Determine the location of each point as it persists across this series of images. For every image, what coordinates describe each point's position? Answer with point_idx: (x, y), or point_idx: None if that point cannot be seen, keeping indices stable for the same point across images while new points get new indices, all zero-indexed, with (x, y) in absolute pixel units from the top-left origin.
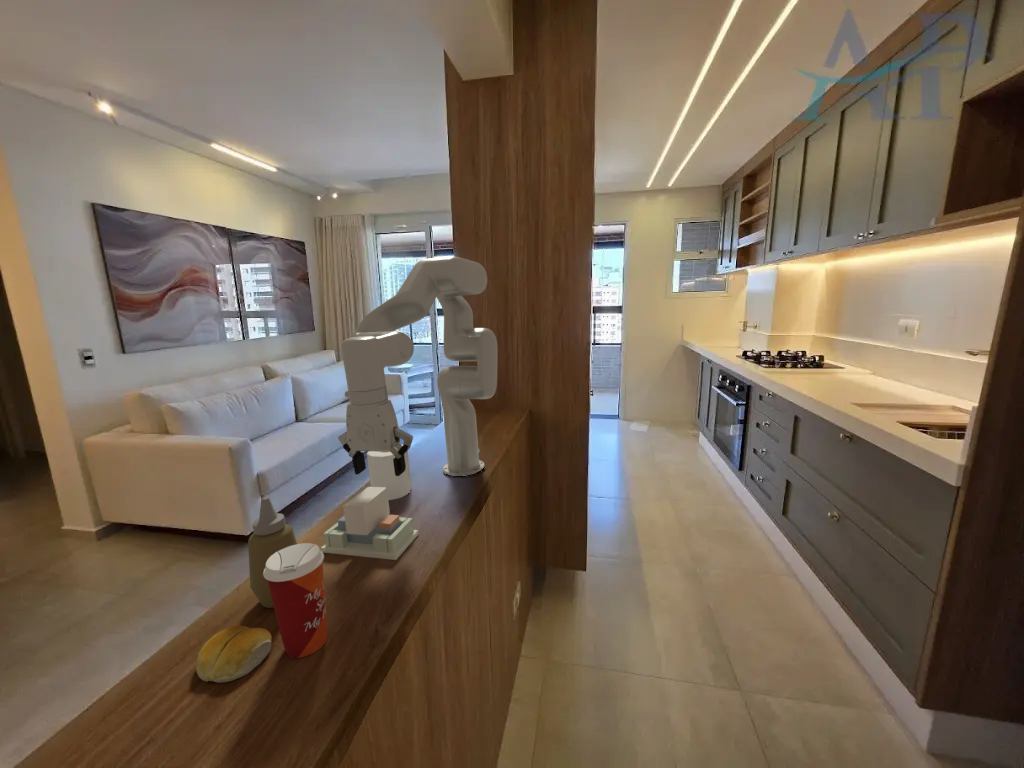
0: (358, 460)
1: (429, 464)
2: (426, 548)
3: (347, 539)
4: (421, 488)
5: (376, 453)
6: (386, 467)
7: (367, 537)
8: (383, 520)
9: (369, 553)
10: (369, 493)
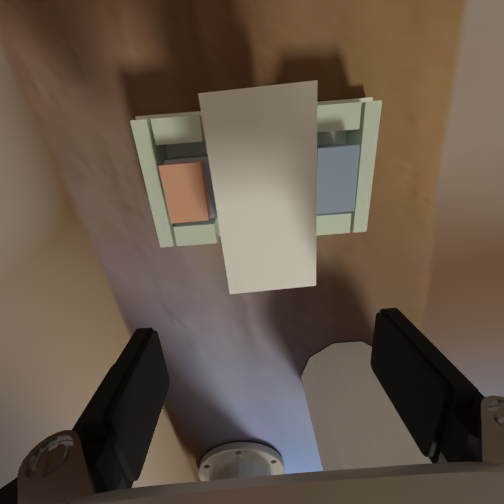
0: (419, 385)
1: None
2: (105, 186)
3: None
4: (286, 396)
5: None
6: (361, 427)
7: None
8: (196, 181)
9: None
10: (268, 232)
